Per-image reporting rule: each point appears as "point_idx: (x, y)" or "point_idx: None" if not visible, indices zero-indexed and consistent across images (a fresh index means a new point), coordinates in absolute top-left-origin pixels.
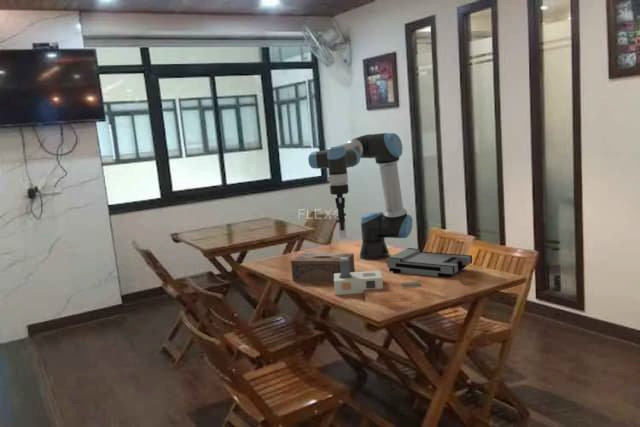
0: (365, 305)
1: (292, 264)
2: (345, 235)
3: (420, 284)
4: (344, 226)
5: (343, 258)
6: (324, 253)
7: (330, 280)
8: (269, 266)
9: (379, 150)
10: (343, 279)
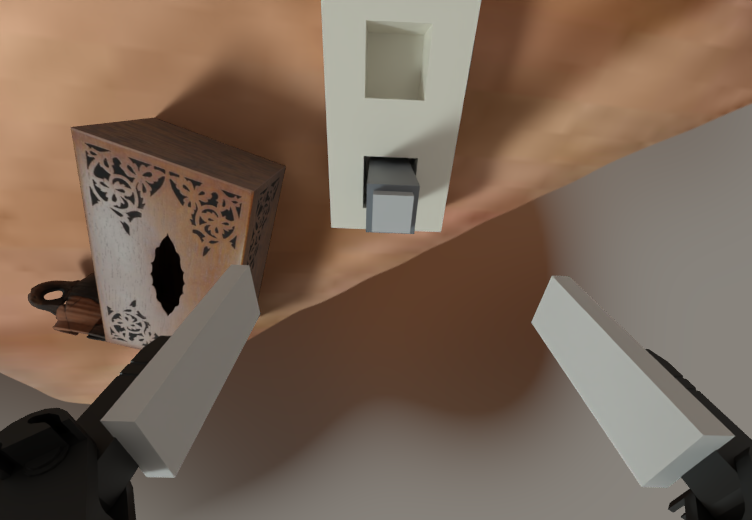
0: (596, 114)
1: None
2: (581, 295)
3: None
4: (656, 377)
5: (402, 218)
6: (94, 269)
7: (272, 221)
8: (97, 370)
9: None
10: (433, 195)
